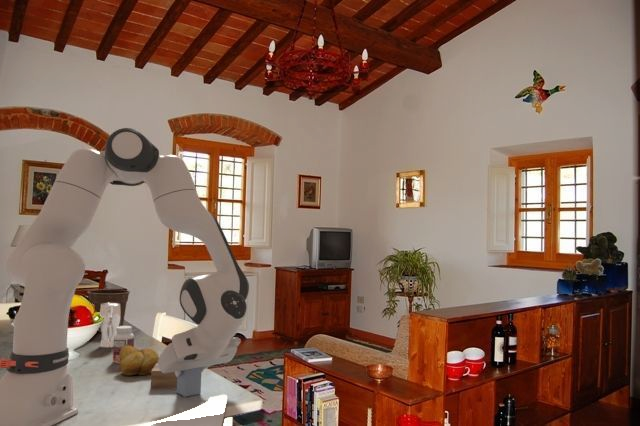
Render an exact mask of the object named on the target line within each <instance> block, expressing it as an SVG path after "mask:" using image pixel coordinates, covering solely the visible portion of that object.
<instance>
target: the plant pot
mask: <svg viewBox="0 0 640 426" xmlns="http://www.w3.org/2000/svg"><path fill="white" fill-rule="evenodd" d="M130 293H131V291H130V290H126V289H115V288H113V289H109V288H106V289H104V288H103V289H102V288H101V289H91V290H88V291H87V294H88V301H89V300H90V301H91V302H92V303H93V304H94V305H95V310H96V311H97V312H100V308H101V304H103V303H120V311H121V314H120V323H119V326H124V323H125V322H124V321H125V315H126V307H127V302H128V300H129V296H130ZM97 333H100V334H101V328H99V331H98V332H97Z"/></svg>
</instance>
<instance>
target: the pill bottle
mask: <svg viewBox="0 0 640 426" xmlns="http://www.w3.org/2000/svg"><path fill="white" fill-rule="evenodd" d="M132 330H133V326H131V325H123V326H119V327H117V328H116V332H117V334H115V335H114V341H113V347H112V348H113V349H112V361H113V363H114V364H116V365H117V364H119V365H120V362H121V360H120V358H119V353H120V351H121V348H122V347H123V346H125V345H130V346H132V347H135V335H134V333H132Z"/></svg>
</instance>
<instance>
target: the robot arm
mask: <svg viewBox="0 0 640 426" xmlns="http://www.w3.org/2000/svg"><path fill="white" fill-rule="evenodd" d="M144 183H145V184H146V185H147V187H148V188H149V190H150V194H151V196H152V202H153V204H154V208H155V212H156V215H157V217H158V219H159V221H160V222H161V224H163V225H164V227H166V228H167V229H170V230H171V231H173V232H177V233H180V234H185V235H189V236H191V237H194V238H196V239H198V240H200V241H201V242H202V243H203V244H204V246H205V247H206V250H207V252H208V253H209V256H210V258H211V261H212V262H213V265H214V267H215V269H216V272H212V273H211V272H210V273H209V274H200V275H197V276H193V277H190V278H187V279H186V280H185V281H184V282H183V284H182V286H181V287H180V291H179V304H180V307H181V309H182V311H183V312H184V314H186V315H187V317H188V318H189V319H190V320H191V321H192V322H193V323H195V324H196V325H197V326H194V327H192V328H190V329H187V330H185V331H182V332H179V333H175V334H174V335H173V336H172V338H171V342H170V343H169V344H168V345H166V347H165V348H164V349H163V351H162V352H161V354H160V355H159V359H158V365H159V368H160V370H161V372H162V373H169V372H175V375H176V377H179V376H182V375H183V374H184V372H183V370H187V369H193V368H198V367H202V370H201V374H202V373H203V372H204V371H205V370H206V369H207V368H209V367H211V366H215V365H220V364H227V363H229V362H230V361H232V360H233V359H234V357H235V355H236V353H237V351H238V346H239V345H240V344H241V342H242V341H241V340H242V339H241V338H239V337H238V336H236V337H234V336H235V335H236V334H237V333H238V331H239V330H240V328H241V326H242V325H243V322H244V321H245V319H246V315H247V308H248V307H247V301H246V300H247V297H248V295H249V292H250V284H249V280H248V278H247V276H246V274H245V273H244V271H243V269H242V268H241V267H240V266H239V263H238V262H237V259H236V257H235V255H234V252H233V251H232V248H231V246H230V243H229V242H228V240H227V237H226V235H225V233H224V231H223V229H222V227H221V225H220V222H219V221H218V219H217V217H216V216H215V215H214V214H213V213H211V212H210V211H209V210H208V209H207V208H206V207H205V206H204V204H203V203H202V201H201V199H200V197H199V194H198V191H197V188H196V184H195V182H194V180H193V177H192V174H191V173H190V170H189V168H188V166H187V165H186V163H185V161H184V159H183V158H181V157H179V156H178V155H174V154H164V155H160V150H159V149H158V148H157V146H155V145H154V144H153V143H152V141H150V139H148V137H146V136H145V135H144V134H143V133H142V132H141V131H139V130H137V129H135V128H130V127H123V128H120V129H117V130H114V131H113V132H112V133H111V134H110V135H109V136H108V137H107V140H106V143H105V145H104V150H101V151H100V150H98V151H97V150H95V149H92V148H86V147H85V148H84V147H83V148H78V149H76V150H74V151H72V153H71V154H70V156H69V157H68V158H67V160H66V161H65V163H64V164H63V166H62V167H61V169H60V170H59V173H58V174H57V176H56V178H55V180H54V183H53V184H52V186H51V189H50V191H49V193H48V196H47V197H46V199H45V201H44V204H43V205H42V208H41V210H40V211H39V213H38V215H37V217H35V219H34V220H33V223H32V224H31V225H30V226H29V228H28V229H27V231H26V232H25V234H24V235H23V236H22V237H21V240H20V241H19V243H18V244H17V245H16V246H15V248H13V249H12V250H11V251H10V252H9V253H8V255H7V257H6V261H5V269H6V272H7V274H8V276H9V277H10V278H11V279H12V280H13V281H14V282H15V283H16V284H17V285H19V286H21V287H24V289H23V296H22V299H21V302H20V307H19V309H18V311H17V312H16V314H15V316H14V321H13V337H12V338H13V339H12V341H13V342H12V351H11V352H10V354H9V357H8V358H1V359H0V369H5V370H6V372H5V374H4V375H3V376H2V377H1V379H0V426H54V425H56V424H58V423H60V422H62V421H64V420H67V419H68V418H70V417H73V416H75V415H76V414H78V413H79V408H78V406H76V405H75V404H74V386H73V383H74V382H73V376H72V374H71V373H70V371H69V369H68V366H67V365H68V364H69V357H70V353H69V351H70V350H69V347H68V331H69V330H68V329H69V317H70V315H69V314H70V310H71V307H72V303H73V298H74V296H75V293H76V289H77V286H78V285H79V284H81V282H82V280H83V278H84V276H85V272H86V265H85V262H84V259H83V257H82V256H81V254H79V253H78V252H77V251H76V250H74V249H73V246H74V245H75V243H76V242H77V241H78V239H79V238H80V237H81V236H82V235H83V234H84V233H86V232H87V230H89V228H90V225H91V223H92V221H93V218H94V216H95V213H96V212H97V209H98V207H99V204H100V203H101V200H102V197H103V194H104V193H105V190H106V188H107V187H108V185H109V184H110V185H113V186H114V185H115V186H126V187H135V186H136V187H137V186H140V185H143V184H144Z"/></svg>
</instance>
